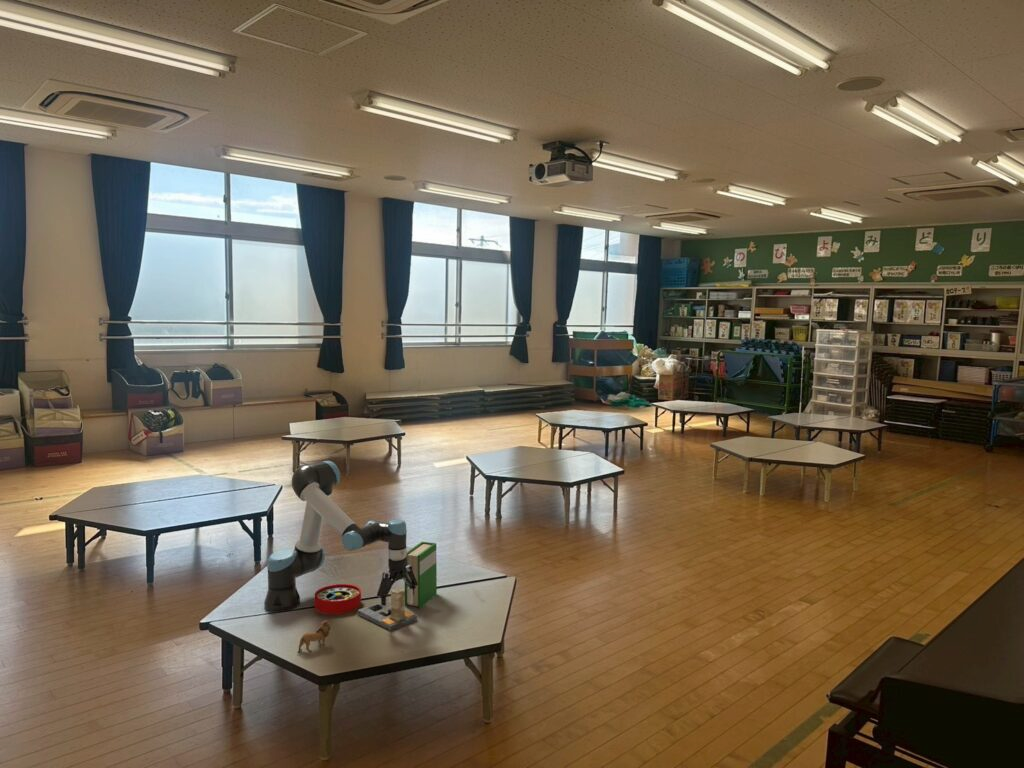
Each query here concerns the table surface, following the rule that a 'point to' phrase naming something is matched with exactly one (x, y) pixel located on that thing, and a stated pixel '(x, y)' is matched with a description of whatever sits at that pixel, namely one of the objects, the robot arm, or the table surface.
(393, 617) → the peg
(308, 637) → the lion figurine
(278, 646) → the table surface
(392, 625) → the slotted board
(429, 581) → the hardback book
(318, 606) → the toy clock
